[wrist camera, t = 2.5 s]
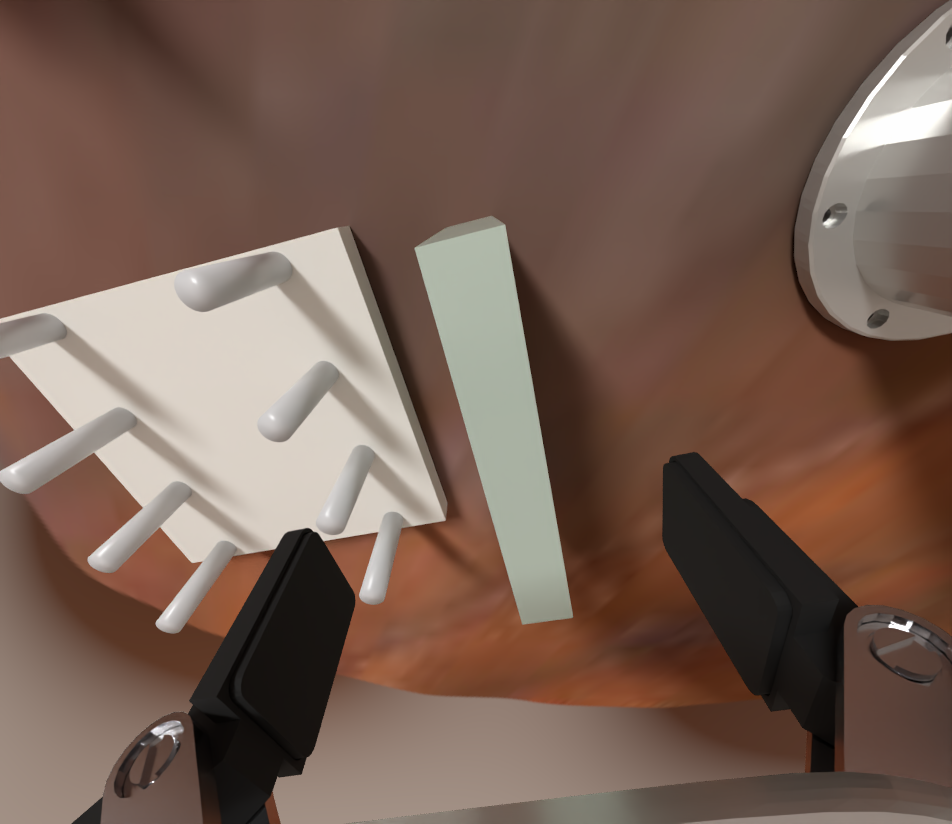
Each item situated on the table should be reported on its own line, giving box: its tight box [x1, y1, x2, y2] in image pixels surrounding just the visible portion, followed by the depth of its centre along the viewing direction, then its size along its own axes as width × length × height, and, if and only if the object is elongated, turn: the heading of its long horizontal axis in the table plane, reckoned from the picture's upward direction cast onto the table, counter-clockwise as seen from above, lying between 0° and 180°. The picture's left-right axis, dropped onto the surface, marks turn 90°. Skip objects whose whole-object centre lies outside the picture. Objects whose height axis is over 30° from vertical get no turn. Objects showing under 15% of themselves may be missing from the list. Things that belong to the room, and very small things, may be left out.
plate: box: [415, 216, 573, 624], centre depth 15 cm, size 14×2×9 cm, turn 13°
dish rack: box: [0, 226, 448, 633], centre depth 18 cm, size 17×16×6 cm
